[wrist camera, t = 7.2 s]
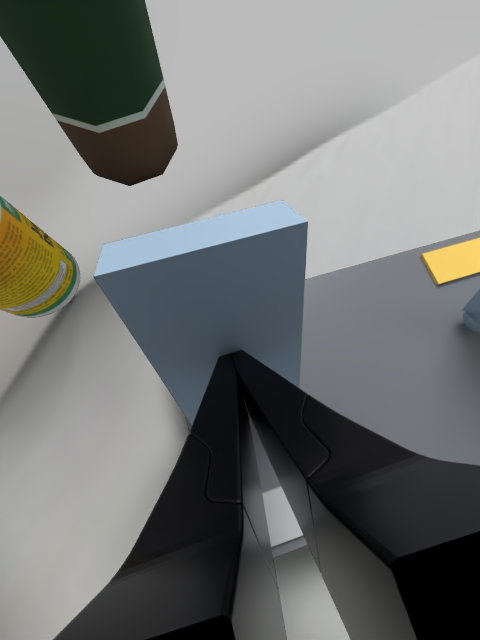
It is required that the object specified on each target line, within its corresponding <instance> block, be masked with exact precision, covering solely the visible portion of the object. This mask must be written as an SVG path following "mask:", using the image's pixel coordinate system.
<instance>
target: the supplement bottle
mask: <svg viewBox="0 0 480 640" xmlns="http://www.w3.org/2000/svg"><path fill="white" fill-rule="evenodd" d="M79 282H80V271H79V267H78V264H77V262H76V260H75V258H74V257H73V256H72V255H71V254H70V253H69V252H68V251H66V250H65V249H64V248H63V247H62V246H60V245H59V244H58V243H57V242H55V241H54V240H53V239H52V238H51V237H49V236H48V235H47V234H46V233H44V232H43V231H42V230H41V229H40V228H39V227H37V226H36V225H35V224H34V223H32V222H31V221H30V220H29V219H28V218H26V217H25V216H24V215H23V214H22V213H20V212H19V211H18V210H17V209H16V208H14V207H13V206H12V205H11V204H10V203H8V202H7V201H6V200H5V199H4V198H2V197H1V196H0V310H3V311H6V312H9V313H12V314H15V315H18V316H23V317H30V318H34V317H41V316H45V315H48V314H51V313H54V312H56V311H58V310H60V309H61V308H63V307H64V306H65V305H66V304H68V303H69V302H70V300H71V299H72V298H73V297H74V295H75V293H76V291H77V289H78V286H79Z"/></svg>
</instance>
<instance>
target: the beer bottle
mask: <svg viewBox="0 0 480 640" xmlns="http://www.w3.org/2000/svg"><path fill="white" fill-rule="evenodd" d="M0 36H1V38H2V39H3V41H4V42H5V44H6V45H7V47H8V48H9V50H10V51H11V52H12V54H13V56H14V57H15V59H16V60H17V61H18V63H19V65H20V66H21V68H22V69H23V71H24V72H25V74H26V75H27V77H28V78H29V80H30V81H31V83H32V84H33V86H34V87H35V89H36V90H37V92H38V93H39V95H40V96H41V98H42V99H43V101H44V102H45V104H46V105H47V107H48V108H49V110H50V111H51V112H52V114H53V116H54V117H55V118H56V120H57V121H58V123H59V124H60V126H61V127H62V129H63V130H64V132H65V133H66V135H67V136H68V138H69V139H70V141H71V142H72V144H73V145H74V147H75V148H76V150H77V151H78V153H79V154H80V156H81V157H82V158H83V160H84V161H85V162H86V164H87V165H88V166H89V168H90V169H91V170H92V172H93V173H94V174H96V175H97V176H99V177H103V178H106V179H109V180H112V181H115V182H118V183H122V184H125V185H128V186H131V185H134V184H137V183H140V182H142V181H145V180H148V179H151V178H154V177H157V176H159V175H162V174H163V173H164V171H165V169H166V167H167V166H168V164H169V162H170V160H171V158H172V156H173V155H174V153H175V151H176V149H177V146H178V143H177V138H176V133H175V127H174V121H173V118H172V113H171V109H170V105H169V100H168V96H167V92H166V88H165V84H164V80H163V75H162V72H161V67H160V63H159V59H158V54H157V50H156V46H155V41H154V37H153V33H152V29H151V25H150V20H149V16H148V12H147V9H146V4H145V0H0Z"/></svg>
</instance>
